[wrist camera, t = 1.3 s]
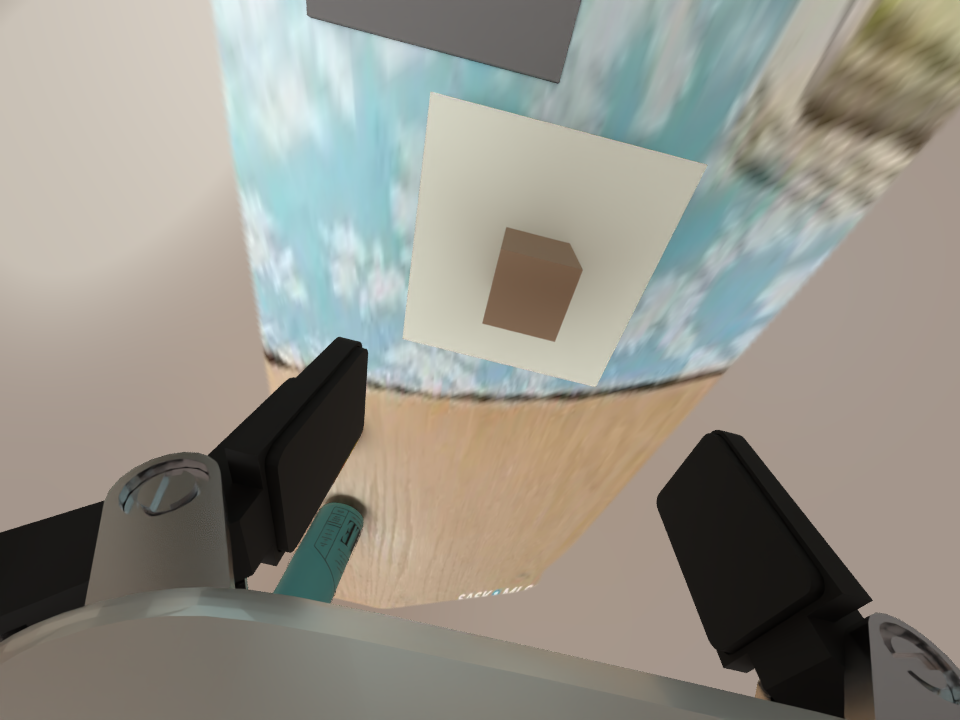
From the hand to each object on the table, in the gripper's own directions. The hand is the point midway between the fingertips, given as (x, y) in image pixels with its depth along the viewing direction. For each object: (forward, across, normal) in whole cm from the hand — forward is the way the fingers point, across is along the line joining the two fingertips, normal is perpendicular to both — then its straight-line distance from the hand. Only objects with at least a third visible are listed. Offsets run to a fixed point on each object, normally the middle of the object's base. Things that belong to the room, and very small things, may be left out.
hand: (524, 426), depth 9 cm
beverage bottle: (+22, +14, +40) cm, 47 cm away
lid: (+16, 0, 0) cm, 16 cm away
